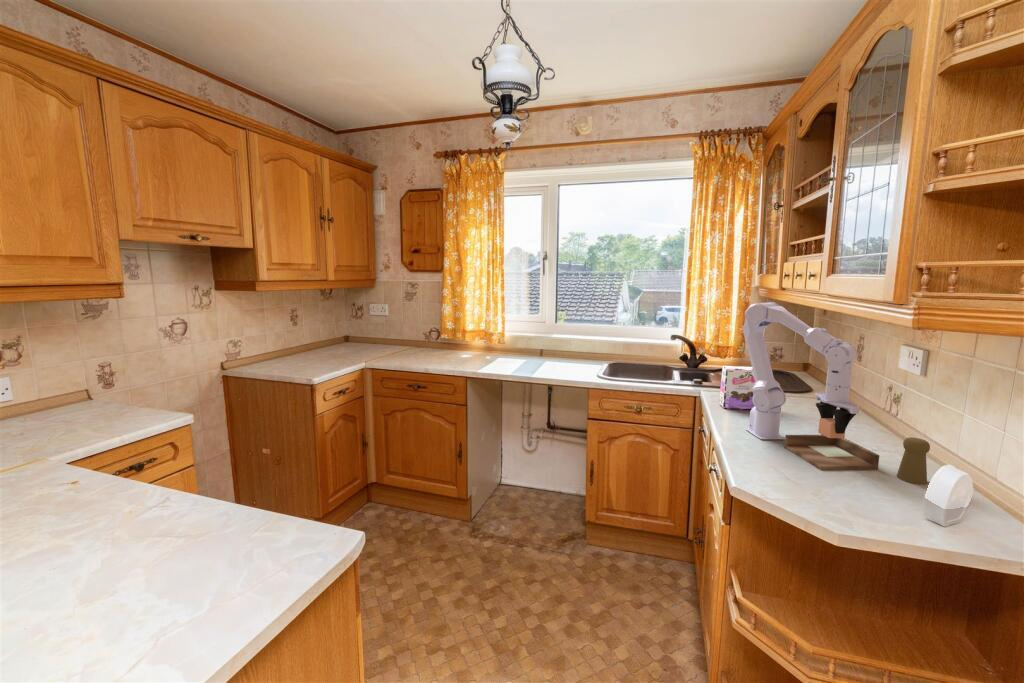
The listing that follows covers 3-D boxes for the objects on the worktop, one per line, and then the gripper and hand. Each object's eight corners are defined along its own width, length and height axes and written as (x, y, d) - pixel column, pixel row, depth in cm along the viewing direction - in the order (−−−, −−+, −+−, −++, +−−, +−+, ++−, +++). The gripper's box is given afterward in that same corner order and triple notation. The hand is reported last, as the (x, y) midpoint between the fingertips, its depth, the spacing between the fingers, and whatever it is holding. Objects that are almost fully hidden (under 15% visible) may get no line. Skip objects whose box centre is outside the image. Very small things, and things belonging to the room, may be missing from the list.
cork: (933, 485, 114) (939, 444, 112) (905, 483, 115) (911, 442, 114) (917, 475, 120) (922, 435, 118) (891, 473, 121) (896, 434, 120)
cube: (818, 432, 135) (819, 418, 134) (832, 432, 135) (834, 418, 134) (829, 438, 130) (831, 423, 129) (844, 437, 130) (846, 423, 130)
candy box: (723, 409, 178) (725, 368, 176) (718, 404, 184) (721, 365, 181) (760, 410, 176) (764, 369, 173) (755, 406, 182) (758, 366, 179)
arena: (784, 447, 139) (785, 434, 139) (835, 446, 139) (837, 434, 139) (820, 469, 123) (821, 455, 123) (877, 469, 124) (879, 455, 123)
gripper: (807, 379, 137) (803, 422, 139) (844, 391, 123) (838, 439, 125) (829, 379, 137) (825, 421, 139) (868, 391, 123) (863, 438, 125)
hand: (833, 430), depth 132 cm, fingers closed on cube, 4 cm apart
